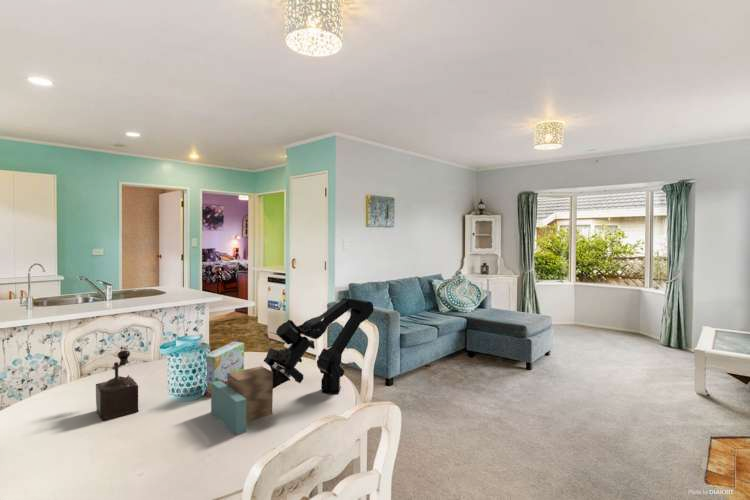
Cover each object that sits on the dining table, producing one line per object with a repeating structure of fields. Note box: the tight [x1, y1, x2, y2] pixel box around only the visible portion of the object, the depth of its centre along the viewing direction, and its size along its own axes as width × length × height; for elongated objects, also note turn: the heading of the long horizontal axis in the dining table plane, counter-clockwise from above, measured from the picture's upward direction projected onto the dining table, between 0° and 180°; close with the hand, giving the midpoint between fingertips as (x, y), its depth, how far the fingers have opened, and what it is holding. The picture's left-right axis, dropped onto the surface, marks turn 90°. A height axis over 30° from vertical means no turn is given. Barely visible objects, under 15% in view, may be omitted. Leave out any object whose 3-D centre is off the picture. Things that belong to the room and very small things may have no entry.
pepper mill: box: [95, 349, 140, 422], centre depth 137 cm, size 16×11×18 cm
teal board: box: [210, 381, 247, 436], centre depth 129 cm, size 3×20×10 cm, turn 42°
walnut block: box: [227, 365, 274, 423], centre depth 134 cm, size 12×8×14 cm, turn 132°
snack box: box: [203, 341, 245, 398], centre depth 158 cm, size 21×6×15 cm, turn 168°
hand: (267, 390), depth 139 cm, fingers closed, pressing on walnut block
